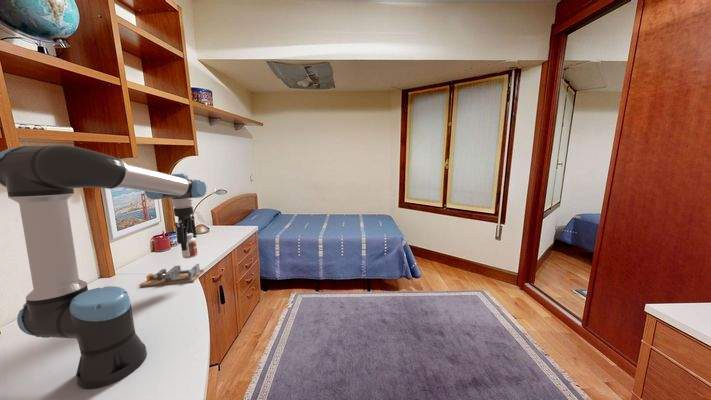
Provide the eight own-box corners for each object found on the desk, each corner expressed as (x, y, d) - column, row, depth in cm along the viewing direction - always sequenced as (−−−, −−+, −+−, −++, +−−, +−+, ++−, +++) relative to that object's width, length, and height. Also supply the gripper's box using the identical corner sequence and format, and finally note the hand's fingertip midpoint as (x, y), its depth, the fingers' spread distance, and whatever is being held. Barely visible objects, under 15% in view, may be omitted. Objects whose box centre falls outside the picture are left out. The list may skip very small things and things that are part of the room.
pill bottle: (197, 256, 124) (194, 234, 122) (182, 260, 121) (179, 237, 119) (197, 252, 129) (194, 231, 127) (183, 255, 126) (179, 233, 124)
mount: (193, 282, 128) (192, 272, 128) (140, 287, 124) (138, 277, 123) (203, 271, 141) (202, 262, 140) (155, 275, 137) (154, 266, 136)
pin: (163, 278, 130) (163, 274, 130) (146, 280, 129) (146, 276, 129) (167, 276, 133) (166, 272, 133) (150, 277, 132) (149, 273, 132)
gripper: (181, 210, 112) (189, 260, 116) (200, 202, 130) (206, 246, 134) (162, 211, 111) (170, 262, 115) (184, 203, 129) (190, 247, 133)
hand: (189, 253), depth 125 cm, fingers closed on pill bottle, 6 cm apart
